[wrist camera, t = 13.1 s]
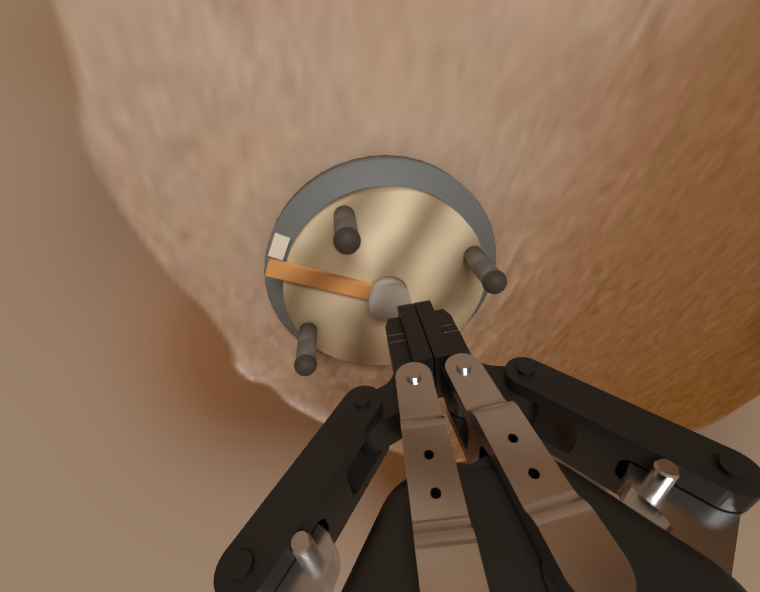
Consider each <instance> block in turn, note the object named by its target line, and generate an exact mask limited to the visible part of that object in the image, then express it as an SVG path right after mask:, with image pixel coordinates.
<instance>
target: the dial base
mask: <svg viewBox="0 0 760 592" xmlns="http://www.w3.org/2000/svg"><path fill="white" fill-rule="evenodd" d="M383 185H397V186H405V187H411V188H415V189H419V190H422V191H425V192H428V193H430V194H432V195H435V196H437V197H438V198H440V199H442V200H443V201H445V202H446V203H448V204H449V205H450V206H451V207H452V208H454V209H455V210H456V211H457V212H458V213H459V214H460V215H461V216H462V217H463V219H464V220H465V221H466V222H467V223H468V224H469V226H470V227H471V228H472V229H473V231H474V233H475V234H476V236H477V238H478V239H479V242H480V244H481V247H482V249H483V252H484V253H485V254H486V255H487V256H488V258H489V259H490V260H491V261H492V262H493V264H494V265H495V262H496V247H495V238H494V234H493V230H492V226H491V224H490V222H489V219H488V217H487V215H486V213H485V211H484V210H483V208H482V206H481V205H480V203H479V202H478V200H477V199H476V198H475V197H474V196H473V195H472V194H471V193H470V192H469V190H468V189H466V188H465V187H464V186H463V185H462V184H461V183H459V182H458V181H457V180H456V179H454V178H453V177H452V176H451V175H450V174H448V173H446V172H444V171H443V170H441V169H439V168H438V167H436V166H433V165H431V164H428V163H426V162H423V161H421V160H416V159H412V158H408V157H402V156H391V155H383V156H368V157H363V158H358V159H353V160H350V161H347V162H344V163H341V164H338V165H336V166H334V167H332V168H330V169H328V170H326V171H324V172H322V173H320V174H319V175H317V176H316V177H314V178H313V179H312V180H310V181H309V182H307V183H306V184H305V185H304V186H303V187H302V188H301V189H300V190H299V191H298V192H297V193H295V194H294V196H293V197H292V198H291V199H290V201H289V202H288V203H287V204H286V206H285V207H284V209H283V210H282V212H281V214H280V216H279V217H278V219H277V221H276V224H275V226H274V229H273V231H272V234H271V237H270V240H269V242H268V247H267V251H266V256H265V268H264V273H265V274H266V269H267V265H268V261H269V258H272V259H276V260H280V261H284V262H287V258H288V255H289V252H290V249H291V246H292V244H293V242H294V240H295V238H296V236H297V234H298V233H299V232H300V230H301V229H302V227H303V226H304V224H305V223H306V222H307V221H308V220H309V219H310V218H311V217H312V216H313V215H314V214H315V213H316V212H318V211H319V210H320V209H321V208H323V207H324V206H325V205H327V204H328V203H330V202H332V201H333V200H335V199H337V198H338V197H341V196H343V195H345V194H348V193H350V192H353V191H356V190H360V189H363V188H367V187H374V186H383ZM265 284H266V288H267V292H268V296H269V299H270V302H271V304H272V306H273V309H274V311H275V312H276V314H277V315H278V317H279V319H280V320H281V322H282V323H283V324H284V325H285V326H286V328H287V329H288V330H289V331H290V332H291V333H292V334H293V335H294V336H295V337H296V338H297V339H298V337H299V331H298V330H297V329H296V327H295V326H294V324H293V322H292V320H291V319H290V317H289V315H288V312H287V309H286V306H285V301H284V295H283V280H281V279H277V278H273V277H268V276H265ZM487 293H488V292H487V291H485V290H484V289H483V293H482V296H481V299H480V301H479V304H478V306H477V308H476V310H475V311H474V313H473V315H472V316H471V318H472V317H473V316H474V314H475V313H476V312H477V310H478V309H479V307H480V306H481V304H482V303H483V301H484V299H485V297H486V295H487ZM471 318H470V319H471ZM470 319H469V320H470ZM468 322H469V321H468ZM468 322H467V323H468ZM467 323H466V324H467ZM466 324H465V325H466ZM316 351H318V352H320V353H322V354H325V353H323V352H322V351H320V350H318V349H317V348H316ZM325 355H327V354H325ZM327 356H329V355H327ZM329 357H331V356H329ZM332 358H333V357H332Z"/></svg>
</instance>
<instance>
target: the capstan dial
mask: <svg viewBox="0 0 760 592" xmlns="http://www.w3.org/2000/svg"><path fill="white" fill-rule="evenodd" d="M265 276H268V277H273V278H277V279H281V280H283V295H284V301H285V306H286V309H287V312H288V315H289V317H290V319H291V320H292V322H293V324H294V326H295V327H296V329H297V330H298V331H299V337H298V346H297V354H296V360H295V363H294V368H295V370H296V372H297V373H298V374H299V375H301V376H309V375H311V374H312V373H313V372H314V371H315V370H316V367H317V362H316V348H317V349H318V350H320V351H322V352H323V353H325V354H327V355H329V356H331V357H333V358H336V359H339V360H342V361H345V362H349V363H354V364H360V365H372V366H380V365H391V364H392V363H391V359H390V354H389V349H388V342H387V336H386V329H385V326H386V323H387V321H388V319H390V318H396V317H398V311H397V306H400V305H405V304H411V303H413V304H414V303H416V302H422V301H427V300H430V301H431V304H432V306H433V308H434V310H440V309H444V310H445V311H447V312H448V313H449V314H451V316H452V318H453V320H454V322H455V324H456V326H457V328H458V330H459V331H460V330H461V329H462V328H463V327H464V326H465V324H466V323H467V322H468V321H469V319H470V318H471V316H472V315H473V313H474V311H475V310H476V308H477V306H478V304H479V301H480V299H481V296H482V293H483V289H484V290H485V291H487V292H488V293H491V294H497V293H500V292H502V291H503V290H504V289H505V287H506V285H507V278H506V276H505V275H504V273H502V272H501V271H499V269H498V268H497V267H496V266H495V265H494V264H493V262H492V261H491V260H490V259H489V258H488V256H487V255H486V254H485V253H484V252H483V249H482V247H481V244H480V242H479V239H478V238H477V236H476V234H475V233H474V231H473V229H472V228H471V227H470V226H469V224H468V223H467V222H466V221H465V220H464V219H463V217H462V216H461V215H460V214H459V213H458V212H457V211H456V210H455V209H454V208H452V207H451V206H450V205H449V204H448V203H446V202H445V201H443V200H442V199H440V198H438V197H437V196H435V195H432V194H430V193H428V192H425V191H422V190H419V189H415V188H411V187H405V186H397V185H383V186H374V187H367V188H363V189H360V190H356V191H353V192H350V193H348V194H345V195H343V196H341V197H338V198H337V199H335V200H333V201H332V202H330V203H328V204H327V205H325V206H324V207H323V208H321V209H320V210H319V211H318V212H316V213H315V214H314V215H313V216H312V217H311V218H310V219H309V220H308V221H307V222H306V223H305V224H304V226H303V227H302V229H301V230H300V232H299V233H298V234H297V236H296V238H295V240H294V242H293V244H292V246H291V249H290V252H289V255H288V258H287V262H284V261H280V260H276V259H272V258H269V261H268V265H267V269H266V274H265Z"/></svg>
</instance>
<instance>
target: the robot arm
mask: <svg viewBox="0 0 760 592" xmlns="http://www.w3.org/2000/svg"><path fill="white" fill-rule="evenodd" d="M397 311H398V317H396V318H390V319H388V321H387V323H386V326H385V329H386V336H387V342H388V349H389V354H390V359H391V363H392V368H393V373H394V375H393V377H392V379H391V380H390V381H389V382H388V383H387V384H386V385H384V386H382V387H380V388H378V389H375V388H373V387H370V386H359V387H356V388H354V389H352V390H351V391H349V392H348V393H347V394H346V396H345V397H344V398H343V400H342V401H341V402H340V403H339V405H338V406H337V407H336V409H335V410H334V411H333V412H332V414H331V415H330V416H329V418H328V419H327V420H326V422H325V423H324V424H323V425H322V427H321V428H320V429H319V431H318V432H317V433H316V434H315V436H314V437H313V438H312V440H311V441H310V442H309V444H308V445H307V446H306V447H305V449H304V450H303V451H302V453H301V454H300V455H299V456H298V458H297V459H296V460H295V462H294V463H293V464H292V465H291V467H290V468H289V469H288V471H287V472H286V473H285V474H284V476H283V477H282V478H281V480H280V481H279V482H278V484H277V485H276V486H275V487H274V489H273V490H272V491H271V492H270V494H269V495H268V496H267V498H266V499H265V500H264V502H263V503H262V504H261V505H260V507H259V508H258V509H257V511H256V512H255V513H254V514H253V516H252V517H251V518H250V520H249V521H248V522H247V523H246V525H245V526H244V528H243V529H242V530H241V531H240V533H239V534H238V535H237V536H236V538H235V539H234V540H233V542H232V543H231V544H230V545H229V547H228V548H227V549H226V551H225V552H224V553H223V555H222V557H221V558H220V560H219V562H218V564H217V567H216V571H215V574H214V589H215V592H333V590H334V585H335V583H336V581H337V578H338V575H339V571H340V556H339V553H338V550H337V548H336V546H335V542H336V540H337V538H338V537H339V535H340V533H341V531H342V530H343V528H344V526H345V525H346V523H347V521H348V519H349V517H350V516H351V514H352V512H353V511H354V509H355V507H356V505H357V504H358V502H359V500H360V498H361V497H362V495H363V493H364V491H365V490H366V488H367V486H368V484H369V483H370V481H371V479H372V478H373V475H374V474H375V472H376V471H377V468H378V467H379V465H380V464H381V462H382V460H383V458H384V457H385V455H386V453H387V451H388V449H389V446H390V445H391V444H393V443H395V442H397V441H399V440H400V439H402V440H403V449H404V457H405V466H406V474H407V479H406V480H404V481H403V482H401V483H400V484H399V485H398V486H397V487H395V489H394V490H393V491H392V492H391V493H390V494H389V496H388V497H387V499H386V500H385V502H384V504H383V506H382V508H381V510H380V512H379V514H378V516H377V518H376V520H375V522H374V524H373V526H372V529H371V531H370V533H369V535H368V537H367V539H366V541H365V543H364V545H363V547H362V549H361V552H360V554H359V556H358V558H357V560H356V562H355V564H354V566H353V568H352V571H351V573H350V575H349V577H348V579H347V581H346V583H345V585H344V587H343V589H342V591H341V592H747V591H746V590H745V589H744V588H743V587H742V586H741V584H739V583H738V582H737V581H736V580H735V579H734V578H733V577H732V570H733V563H734V556H735V549H736V541H737V535H738V527H739V521H740V517H741V516H742V515H743V514H744V513H746V511H748V510H749V509H750V508H751V507H752V506H753V505H754V504H755V503H757V502H758V501H759V500H760V467H759V466H758V465H757V464H756V463H754V462H753V461H752V460H751V459H749V458H748V457H746V456H745V455H743V454H741V453H739V452H737V451H736V450H733V449H731V448H729V447H727V446H725V445H722V444H720V443H718V442H716V441H713V440H711V439H709V438H707V437H704V436H702V435H700V434H698V433H696V432H693V431H691V430H689V429H687V428H685V427H682V426H680V425H678V424H676V423H673V422H671V421H669V420H667V419H665V418H662V417H660V416H658V415H656V414H653V413H651V412H649V411H647V410H644V409H642V408H640V407H638V406H636V405H633V404H631V403H629V402H627V401H624V400H622V399H620V398H618V397H616V396H613V395H611V394H609V393H607V392H604V391H602V390H600V389H598V388H596V387H593V386H591V385H589V384H587V383H584V382H582V381H580V380H578V379H576V378H573V377H571V376H569V375H567V374H564V373H562V372H560V371H558V370H556V369H553V368H551V367H549V366H547V365H544V364H542V363H540V362H538V361H536V360H533V359H530V358H526V357H517V358H514V359H511V360H510V361H509V362H508V363H507V364H506V367H505V366H492V365H486V364H483V363H481V362H480V360H479V359H478V358H476V357H475V356H473V355H471V353H470V351H469V349H468V347H467V345H466V343H465V341H464V339H463V337H462V336H461V334H460V332H459V330H458V328H457V326H456V324H455V322H454V320H453V318H452V316H451V314H449V313H448V312H447V311H445V310H444V309H440V310H434V308H433V306H432V304H431V301H430V300H427V301H422V302H416V303H414V304H413V303H411V304H405V305H400V306H397ZM441 397H444V400H445V403H446V414H447V416H448V419H449V421H450V423H451V425H452V428H453V430H454V432H455V435H456V437H457V439H458V441H459V444H460V446H461V448H462V450H463V453H464V455H465V458H466V462H467V463H466V464H465V463H456V461H455V457H454V453H453V449H452V445H451V441H450V437H449V433H448V429H447V425H446V421H445V418H444V416H442V414H441V410H440V406H439V401H438V398H441ZM605 487H606V488H607V489H609V490H611V491H612V492H614V493H616V494H617V495H618V496H619V499H620V500H618V499H616V498H615V497H613V496H612V495H610V494H609V492H608V491H607V489H606V488H605Z"/></svg>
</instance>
